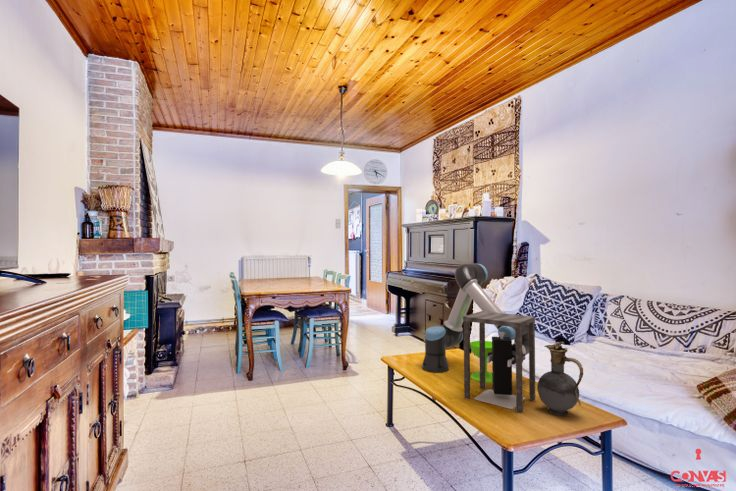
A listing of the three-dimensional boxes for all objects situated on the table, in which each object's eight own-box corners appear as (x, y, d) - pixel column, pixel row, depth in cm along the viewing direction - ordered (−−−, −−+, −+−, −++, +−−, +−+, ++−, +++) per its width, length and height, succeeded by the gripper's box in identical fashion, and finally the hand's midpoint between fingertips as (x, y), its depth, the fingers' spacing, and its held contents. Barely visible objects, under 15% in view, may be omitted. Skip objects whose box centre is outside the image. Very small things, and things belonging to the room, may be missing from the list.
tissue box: (512, 395, 176) (511, 333, 177) (494, 394, 178) (493, 333, 178) (509, 389, 184) (509, 330, 184) (492, 388, 186) (491, 329, 186)
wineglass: (501, 384, 200) (500, 349, 200) (468, 380, 205) (468, 346, 205) (501, 374, 215) (500, 341, 215) (471, 371, 220) (470, 339, 220)
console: (463, 398, 181) (463, 316, 181) (482, 386, 196) (481, 311, 197) (520, 413, 164) (519, 323, 164) (535, 399, 179) (534, 316, 180)
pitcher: (550, 403, 175) (549, 336, 175) (591, 419, 158) (590, 345, 158) (533, 408, 170) (532, 339, 170) (574, 425, 153) (573, 348, 153)
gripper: (538, 363, 188) (522, 374, 171) (494, 355, 202) (475, 365, 184) (537, 347, 188) (522, 357, 171) (494, 341, 202) (475, 349, 184)
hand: (498, 361), depth 178 cm, fingers closed on tissue box, 9 cm apart
